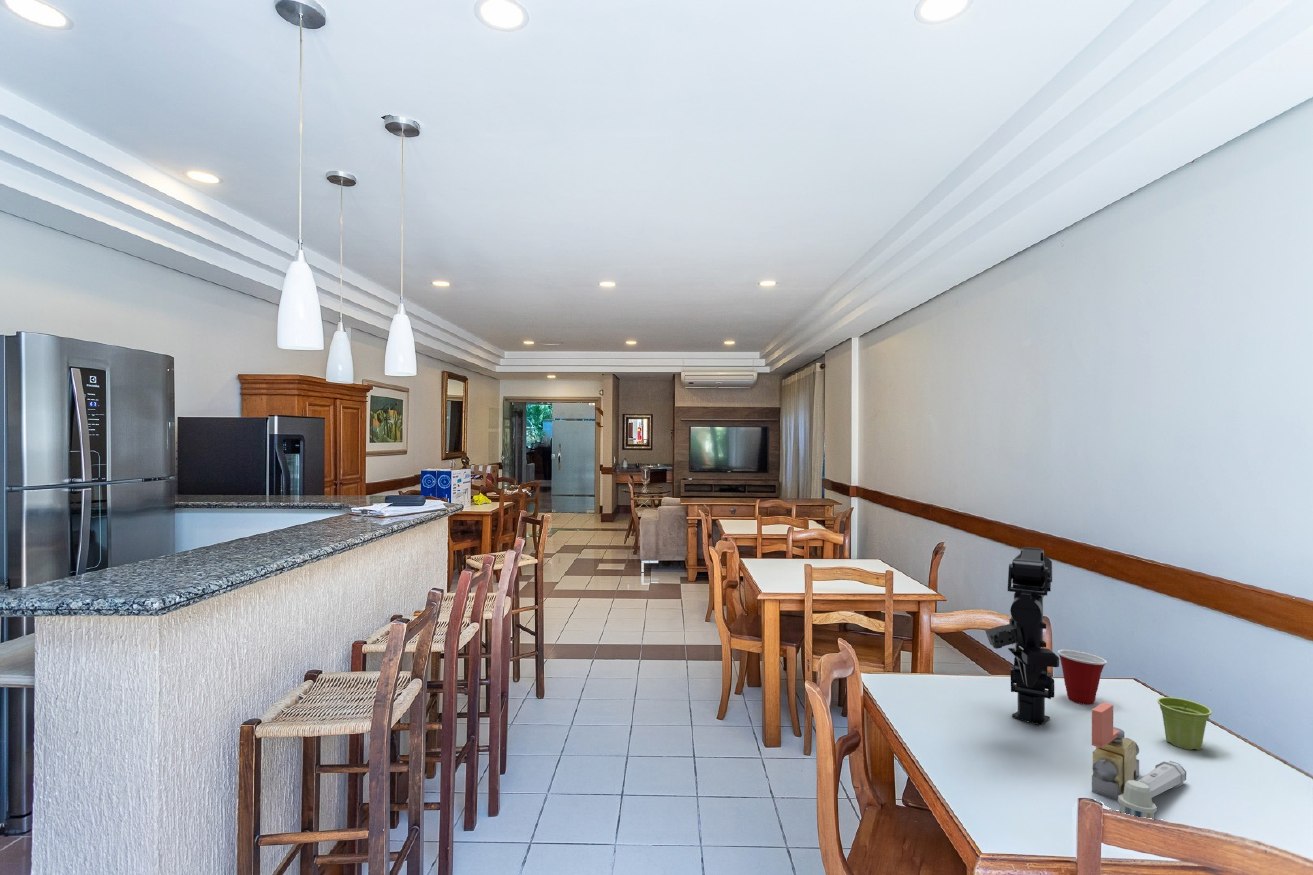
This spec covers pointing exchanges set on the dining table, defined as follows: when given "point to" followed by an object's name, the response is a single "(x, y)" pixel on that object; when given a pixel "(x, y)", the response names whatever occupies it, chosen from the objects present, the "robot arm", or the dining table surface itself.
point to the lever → (1104, 726)
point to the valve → (1114, 767)
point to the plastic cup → (1081, 675)
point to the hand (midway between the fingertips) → (1028, 685)
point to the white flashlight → (1150, 789)
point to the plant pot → (1184, 722)
